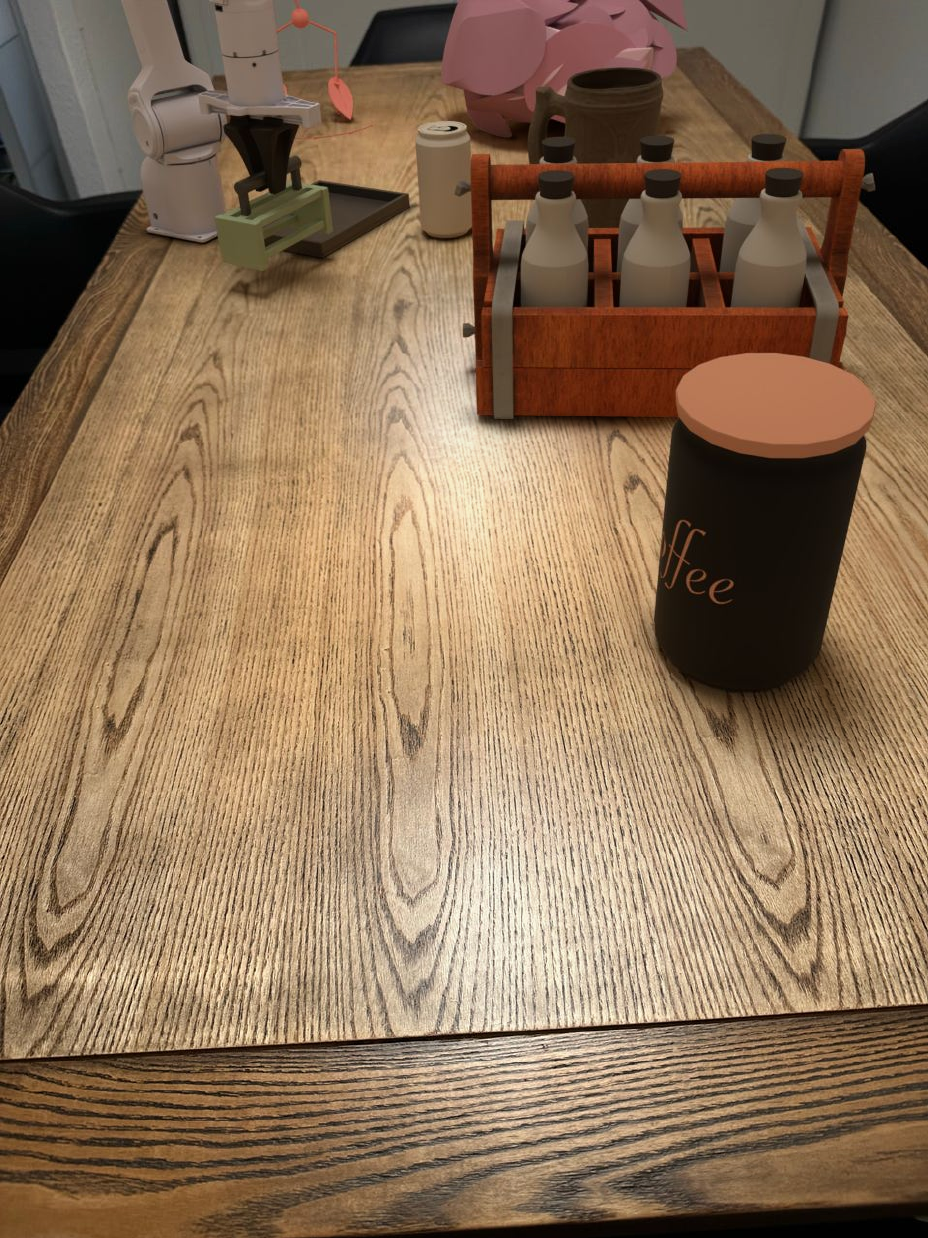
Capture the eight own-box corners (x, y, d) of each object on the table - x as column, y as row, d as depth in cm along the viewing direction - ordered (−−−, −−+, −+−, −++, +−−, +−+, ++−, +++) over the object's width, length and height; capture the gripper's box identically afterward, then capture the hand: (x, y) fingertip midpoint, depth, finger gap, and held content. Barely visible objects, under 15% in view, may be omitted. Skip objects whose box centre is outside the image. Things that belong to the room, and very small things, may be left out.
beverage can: (467, 241, 128) (464, 134, 120) (415, 239, 129) (408, 133, 121) (478, 222, 133) (475, 119, 125) (427, 220, 134) (421, 118, 126)
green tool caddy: (222, 262, 117) (207, 182, 112) (294, 224, 126) (283, 148, 120) (262, 271, 115) (249, 189, 109) (333, 231, 123) (324, 154, 118)
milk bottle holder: (471, 321, 110) (464, 120, 98) (820, 322, 107) (858, 114, 95) (451, 422, 94) (439, 197, 82) (861, 427, 91) (914, 193, 79)
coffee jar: (636, 600, 74) (656, 358, 62) (789, 587, 74) (835, 345, 63) (673, 707, 66) (703, 452, 54) (844, 692, 66) (909, 435, 55)
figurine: (230, 120, 174) (186, -144, 151) (389, 109, 175) (368, -155, 153) (224, 148, 162) (175, -135, 140) (394, 135, 163) (373, -146, 141)
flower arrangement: (653, 139, 173) (678, -68, 160) (693, 150, 153) (724, -86, 140) (437, 129, 170) (444, -83, 157) (448, 139, 149) (456, -104, 136)
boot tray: (228, 240, 131) (226, 226, 130) (320, 192, 144) (318, 179, 143) (323, 258, 126) (321, 243, 124) (409, 206, 138) (408, 193, 137)
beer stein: (673, 256, 122) (677, 61, 109) (644, 292, 114) (645, 87, 102) (547, 249, 128) (537, 64, 115) (512, 283, 120) (497, 88, 108)
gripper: (168, 54, 108) (195, 192, 117) (283, 66, 102) (302, 210, 111) (214, 39, 113) (236, 173, 121) (326, 50, 107) (341, 190, 115)
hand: (270, 190), depth 116 cm, fingers closed on green tool caddy
